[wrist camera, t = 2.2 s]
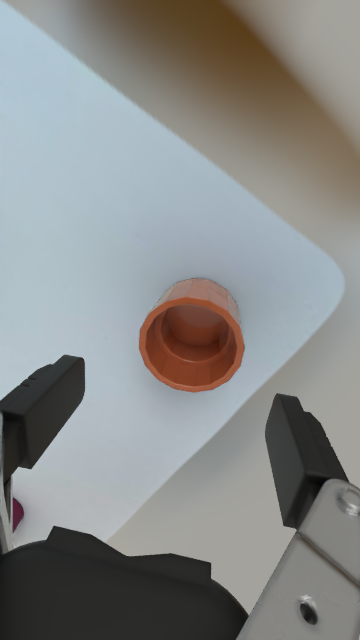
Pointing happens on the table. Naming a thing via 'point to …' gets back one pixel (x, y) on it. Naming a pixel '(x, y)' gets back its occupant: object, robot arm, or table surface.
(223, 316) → the flower pot
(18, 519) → the cup
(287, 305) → the table surface
